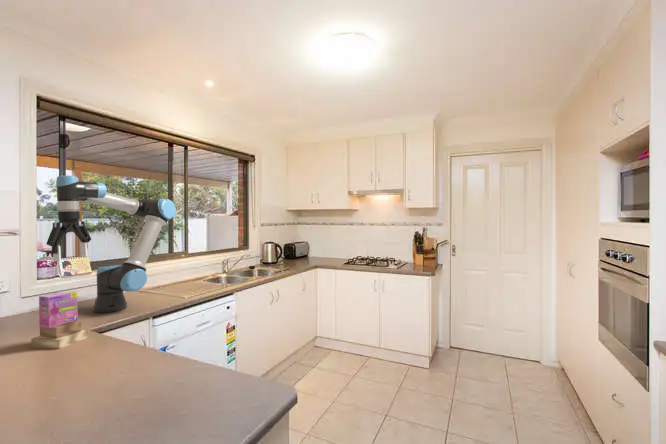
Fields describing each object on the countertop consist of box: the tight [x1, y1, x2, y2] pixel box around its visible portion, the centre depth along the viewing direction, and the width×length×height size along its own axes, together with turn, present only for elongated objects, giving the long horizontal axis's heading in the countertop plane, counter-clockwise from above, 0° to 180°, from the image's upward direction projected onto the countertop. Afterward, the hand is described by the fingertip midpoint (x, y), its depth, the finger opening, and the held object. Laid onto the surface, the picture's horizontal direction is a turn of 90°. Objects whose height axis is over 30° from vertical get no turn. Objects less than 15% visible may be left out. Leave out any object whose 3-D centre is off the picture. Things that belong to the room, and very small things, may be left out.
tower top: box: [39, 320, 82, 339], centre depth 130 cm, size 9×9×4 cm
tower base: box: [30, 328, 89, 350], centre depth 130 cm, size 12×12×4 cm
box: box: [38, 290, 79, 328], centre depth 130 cm, size 10×6×12 cm, turn 161°
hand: (71, 258), depth 149 cm, fingers open, 13 cm apart
